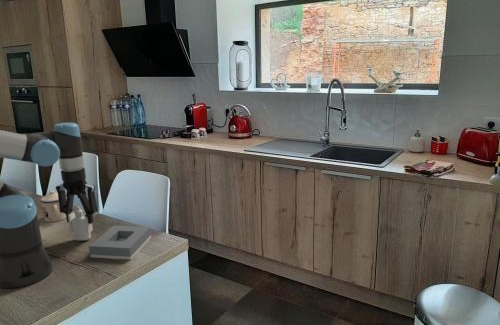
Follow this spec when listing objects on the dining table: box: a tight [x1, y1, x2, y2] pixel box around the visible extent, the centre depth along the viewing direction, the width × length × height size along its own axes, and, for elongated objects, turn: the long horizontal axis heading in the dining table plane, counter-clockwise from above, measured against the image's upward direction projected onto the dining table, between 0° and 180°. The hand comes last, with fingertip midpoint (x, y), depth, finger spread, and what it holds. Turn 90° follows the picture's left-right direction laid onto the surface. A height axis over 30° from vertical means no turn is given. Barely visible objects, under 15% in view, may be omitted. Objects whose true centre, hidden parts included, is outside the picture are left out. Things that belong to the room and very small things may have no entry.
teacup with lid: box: [40, 190, 66, 223], centre depth 155 cm, size 12×9×12 cm
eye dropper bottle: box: [71, 206, 92, 241], centre depth 136 cm, size 4×6×12 cm
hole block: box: [88, 225, 152, 261], centre depth 130 cm, size 16×14×4 cm
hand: (81, 231), depth 137 cm, fingers closed on eye dropper bottle, 6 cm apart
